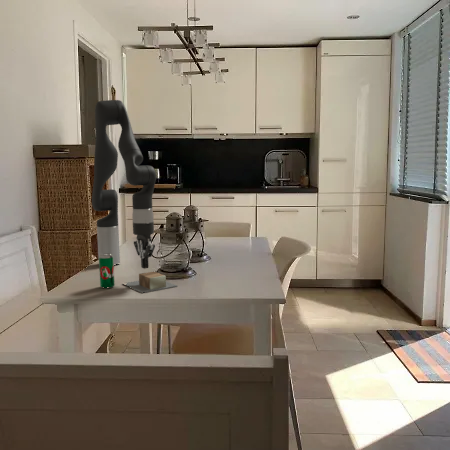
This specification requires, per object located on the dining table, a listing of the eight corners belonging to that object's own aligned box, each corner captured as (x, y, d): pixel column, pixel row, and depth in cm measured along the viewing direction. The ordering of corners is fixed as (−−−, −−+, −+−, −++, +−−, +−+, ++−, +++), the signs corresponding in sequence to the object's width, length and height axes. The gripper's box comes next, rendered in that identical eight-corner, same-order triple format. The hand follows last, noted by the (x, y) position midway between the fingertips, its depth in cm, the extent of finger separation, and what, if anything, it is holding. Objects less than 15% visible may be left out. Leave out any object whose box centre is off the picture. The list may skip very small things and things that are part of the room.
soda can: (108, 284, 176) (107, 252, 175) (117, 286, 173) (116, 254, 172) (97, 287, 172) (95, 254, 171) (106, 289, 169) (104, 256, 168)
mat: (122, 284, 176) (122, 283, 176) (156, 278, 184) (156, 277, 184) (141, 293, 163) (141, 292, 163) (177, 286, 172) (177, 285, 172)
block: (138, 273, 173) (150, 278, 166) (153, 271, 177) (165, 275, 170) (139, 284, 174) (150, 289, 167) (154, 282, 177) (166, 286, 170)
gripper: (125, 220, 177) (127, 266, 179) (141, 223, 166) (143, 272, 168) (144, 218, 181) (146, 263, 183) (161, 221, 170) (162, 269, 173)
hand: (145, 268), depth 176 cm, fingers closed
